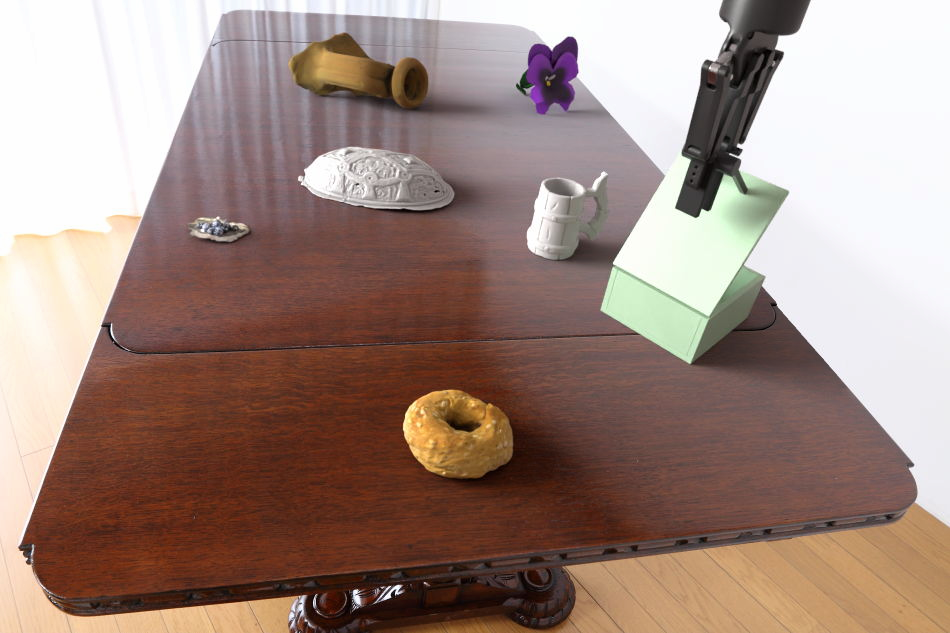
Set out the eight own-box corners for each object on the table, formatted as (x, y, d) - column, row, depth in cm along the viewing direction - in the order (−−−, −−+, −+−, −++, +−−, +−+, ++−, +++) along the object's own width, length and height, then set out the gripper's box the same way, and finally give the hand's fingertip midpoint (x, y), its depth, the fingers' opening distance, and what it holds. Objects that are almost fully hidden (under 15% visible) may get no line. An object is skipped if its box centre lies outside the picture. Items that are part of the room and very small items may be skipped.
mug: (517, 235, 103) (531, 161, 95) (588, 232, 106) (606, 160, 99) (535, 262, 97) (551, 186, 90) (609, 258, 100) (630, 184, 93)
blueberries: (187, 221, 95) (185, 209, 93) (247, 217, 97) (246, 205, 96) (189, 246, 90) (187, 233, 89) (252, 241, 93) (251, 229, 91)
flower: (498, 122, 153) (535, 114, 142) (489, 52, 149) (526, 38, 138) (549, 116, 160) (587, 107, 149) (540, 49, 157) (580, 35, 145)
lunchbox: (662, 272, 99) (675, 231, 95) (747, 317, 92) (766, 276, 88) (600, 310, 89) (612, 267, 85) (690, 364, 82) (708, 320, 78)
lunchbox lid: (684, 149, 83) (664, 115, 75) (789, 192, 76) (779, 161, 68) (614, 264, 85) (586, 244, 77) (710, 317, 78) (691, 302, 70)
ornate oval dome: (447, 217, 103) (450, 174, 100) (285, 199, 104) (283, 156, 101) (459, 183, 116) (462, 144, 113) (316, 167, 117) (314, 129, 114)
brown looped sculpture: (354, 38, 148) (436, 46, 138) (348, 99, 152) (427, 112, 142) (291, 20, 133) (376, 29, 123) (286, 89, 137) (369, 103, 126)
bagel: (503, 498, 63) (510, 463, 60) (388, 470, 64) (391, 435, 61) (518, 423, 71) (526, 390, 68) (417, 400, 72) (420, 366, 69)
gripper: (769, -32, 69) (696, 180, 83) (696, -25, 59) (628, 213, 74) (842, -14, 65) (753, 205, 79) (775, -3, 56) (688, 243, 70)
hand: (693, 208), depth 76 cm, fingers closed on lunchbox lid, 2 cm apart
